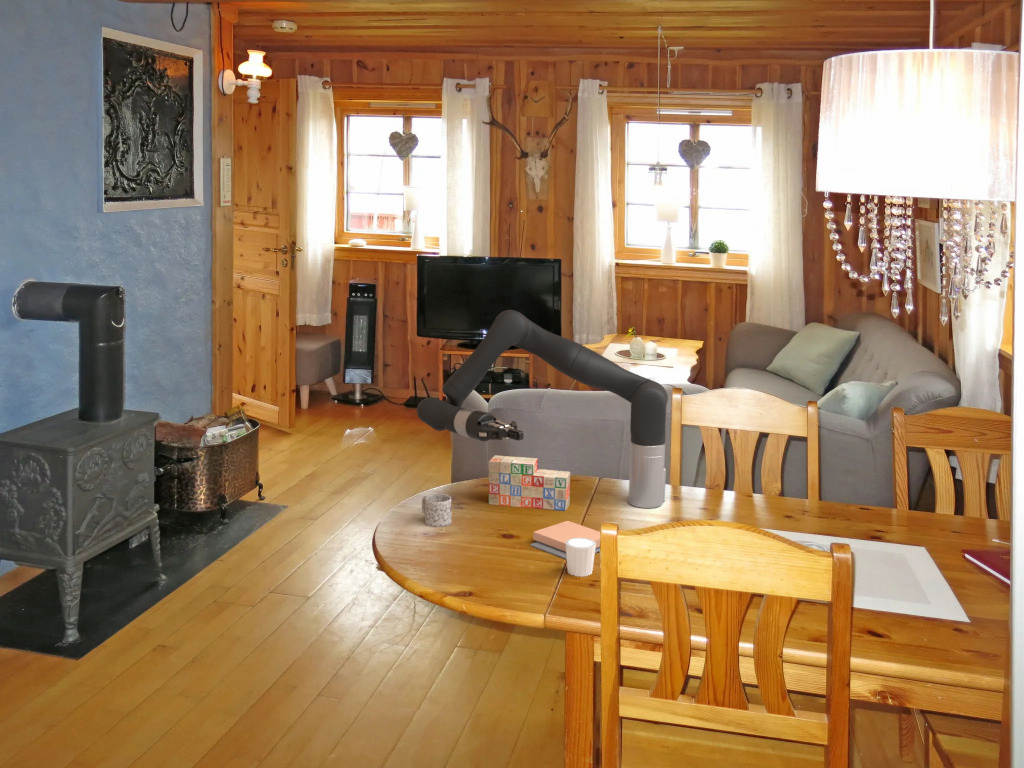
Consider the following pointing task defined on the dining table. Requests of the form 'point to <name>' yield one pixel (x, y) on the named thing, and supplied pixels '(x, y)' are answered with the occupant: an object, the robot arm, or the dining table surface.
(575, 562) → the white cup
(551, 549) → the mat
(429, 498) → the mug
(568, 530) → the tile
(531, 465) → the stack of blocks
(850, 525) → the dining table surface
